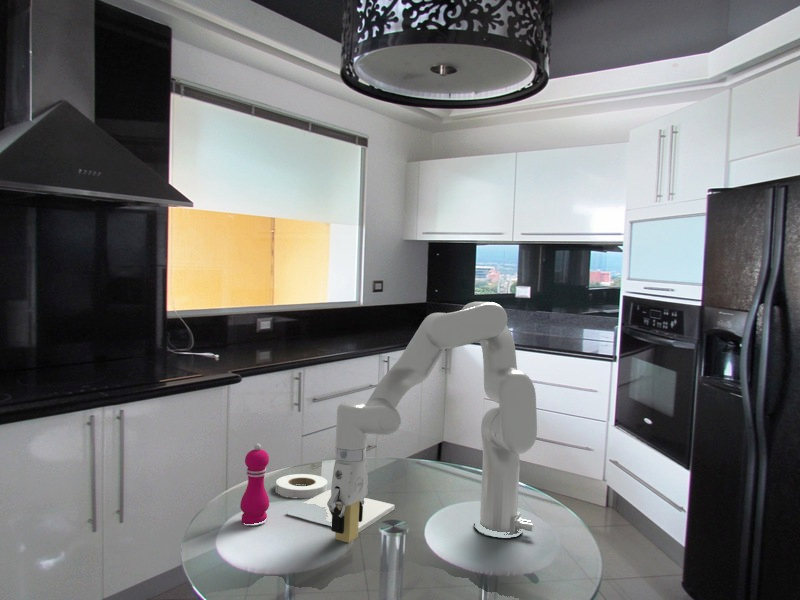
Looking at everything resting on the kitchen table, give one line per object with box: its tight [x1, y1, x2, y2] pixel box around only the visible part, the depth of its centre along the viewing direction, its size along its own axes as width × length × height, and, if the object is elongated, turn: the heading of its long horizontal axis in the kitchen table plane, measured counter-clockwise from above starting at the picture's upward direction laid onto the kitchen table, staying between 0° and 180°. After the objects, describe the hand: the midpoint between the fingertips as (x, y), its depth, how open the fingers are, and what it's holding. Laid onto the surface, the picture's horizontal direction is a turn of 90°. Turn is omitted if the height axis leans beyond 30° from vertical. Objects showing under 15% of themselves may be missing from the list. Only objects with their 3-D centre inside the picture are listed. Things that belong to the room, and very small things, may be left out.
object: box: [275, 473, 328, 499], centre depth 165 cm, size 16×15×3 cm
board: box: [302, 489, 395, 534], centre depth 149 cm, size 22×20×1 cm
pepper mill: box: [239, 443, 270, 524], centre depth 140 cm, size 7×7×20 cm
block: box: [334, 500, 360, 543], centre depth 133 cm, size 4×4×10 cm
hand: (347, 525), depth 133 cm, fingers open, 7 cm apart
